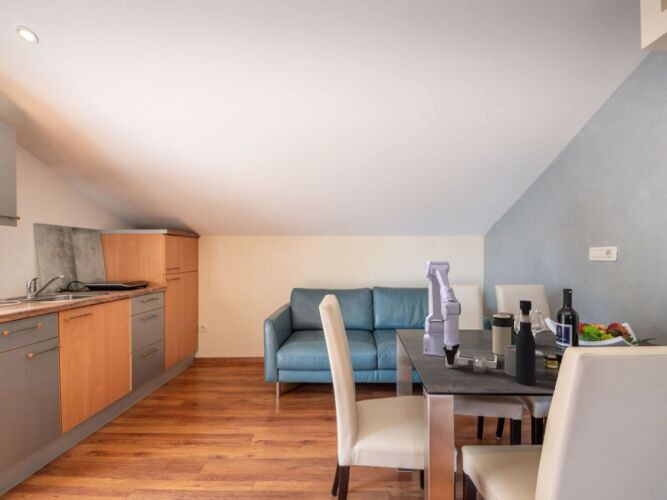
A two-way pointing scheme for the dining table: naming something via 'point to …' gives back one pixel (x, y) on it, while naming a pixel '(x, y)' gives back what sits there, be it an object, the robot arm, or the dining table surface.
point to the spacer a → (454, 362)
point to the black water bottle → (525, 348)
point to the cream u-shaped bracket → (468, 356)
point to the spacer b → (480, 364)
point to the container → (513, 333)
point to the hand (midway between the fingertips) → (451, 362)
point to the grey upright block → (510, 360)
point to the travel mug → (501, 333)
